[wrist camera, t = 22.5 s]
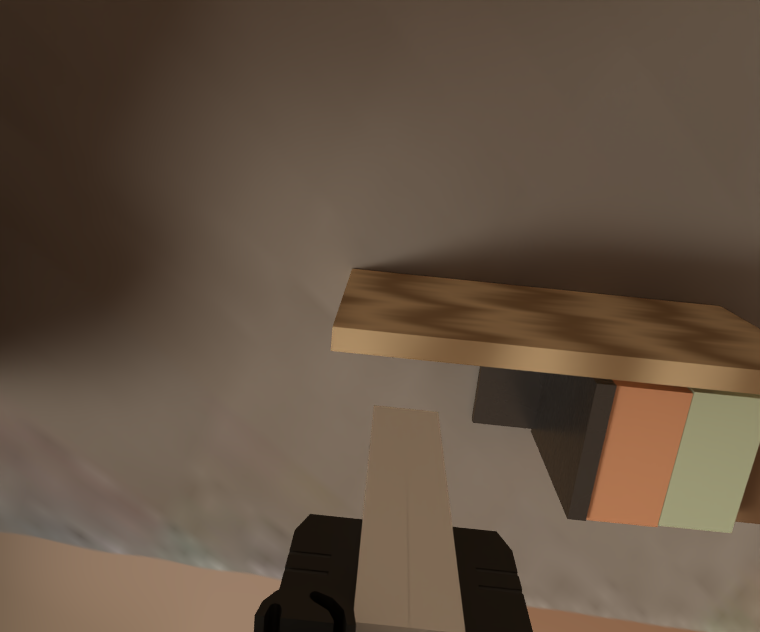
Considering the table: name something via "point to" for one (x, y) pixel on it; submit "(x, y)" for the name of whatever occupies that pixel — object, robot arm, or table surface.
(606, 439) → the book rust
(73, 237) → the table surface
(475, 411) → the bookend
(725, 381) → the shelf
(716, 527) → the book green
